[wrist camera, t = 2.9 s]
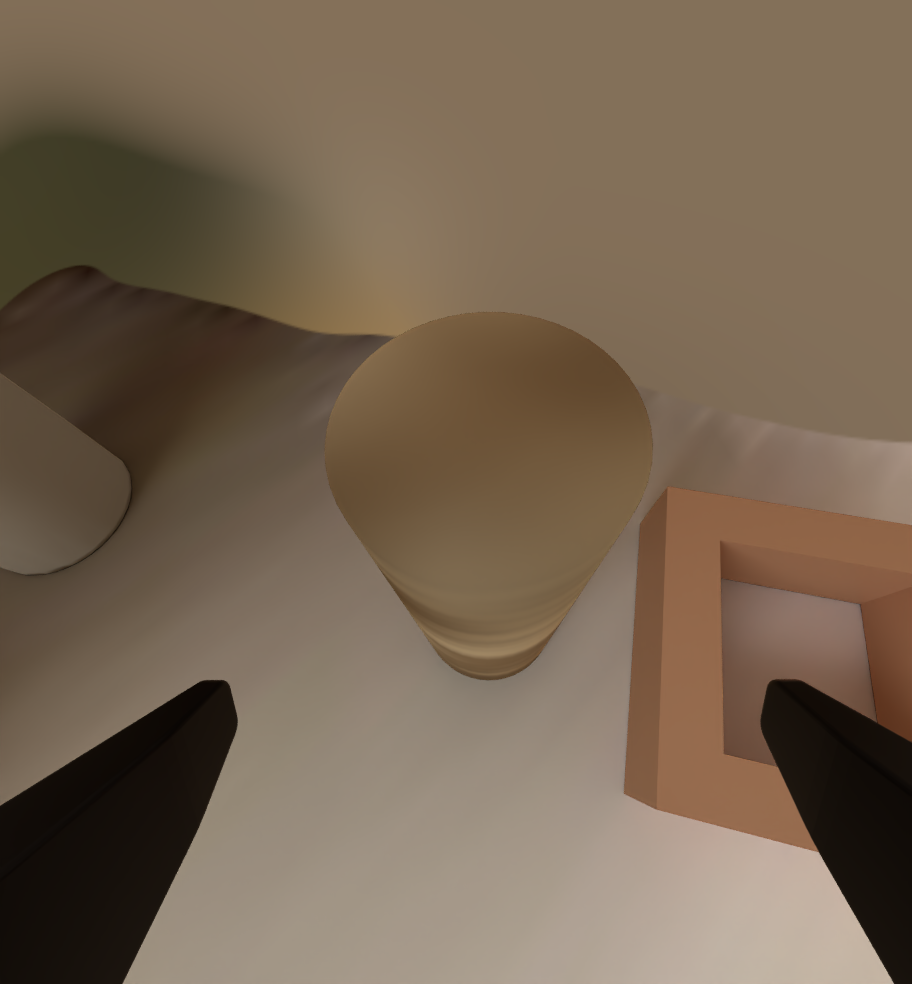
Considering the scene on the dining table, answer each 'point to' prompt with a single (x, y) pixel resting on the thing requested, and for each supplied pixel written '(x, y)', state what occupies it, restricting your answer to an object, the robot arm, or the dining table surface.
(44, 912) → the robot arm
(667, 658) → the socket
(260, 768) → the dining table surface
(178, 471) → the dining table surface
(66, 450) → the bottle
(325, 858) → the dining table surface
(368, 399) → the peg
